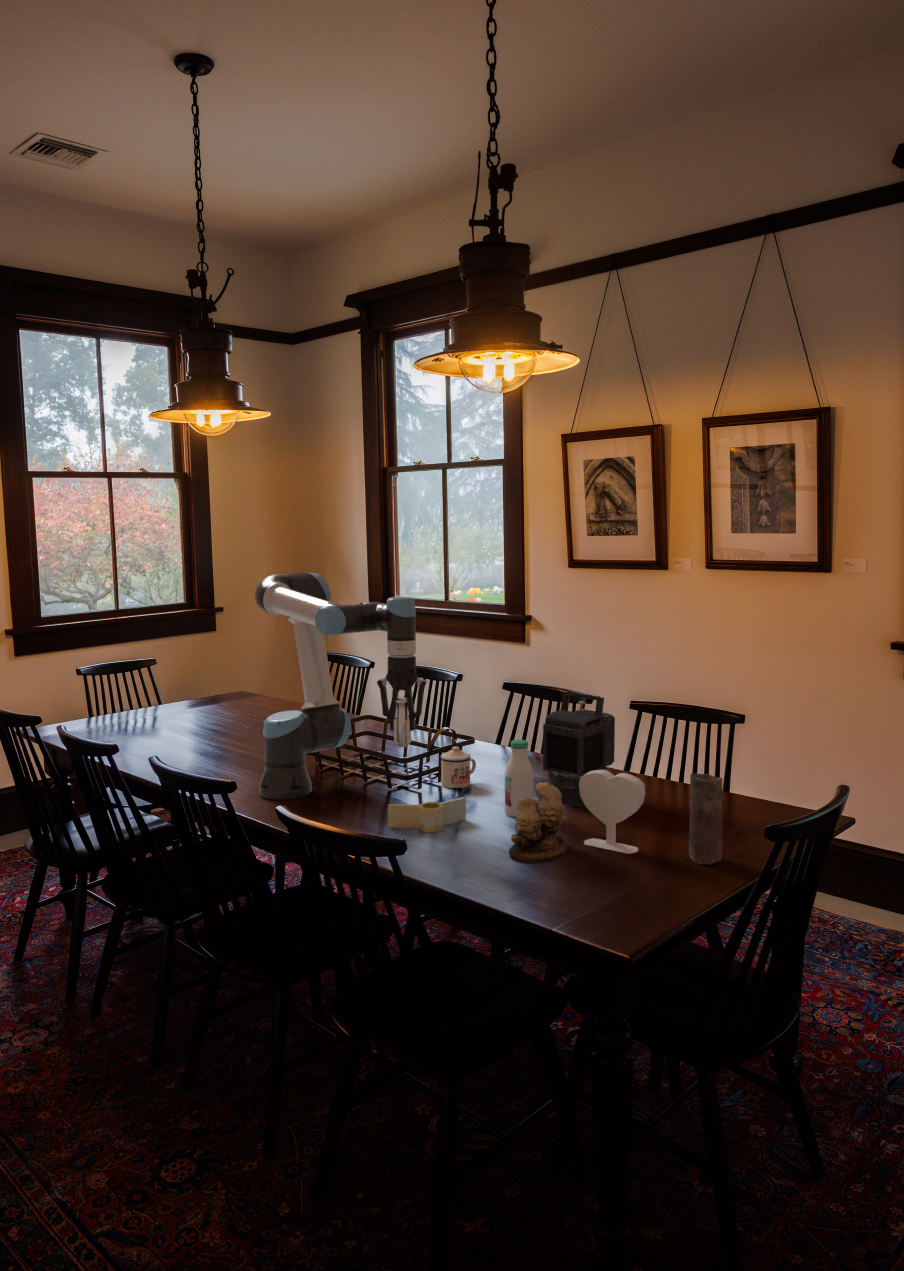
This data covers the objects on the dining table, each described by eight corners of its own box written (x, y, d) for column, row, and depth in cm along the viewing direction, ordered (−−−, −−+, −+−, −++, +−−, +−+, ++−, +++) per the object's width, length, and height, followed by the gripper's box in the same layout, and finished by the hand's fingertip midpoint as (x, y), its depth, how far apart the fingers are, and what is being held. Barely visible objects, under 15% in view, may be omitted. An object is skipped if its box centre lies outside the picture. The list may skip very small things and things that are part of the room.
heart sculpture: (645, 848, 207) (646, 775, 205) (637, 855, 203) (638, 780, 201) (585, 836, 216) (586, 766, 213) (576, 842, 211) (577, 771, 209)
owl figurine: (541, 835, 217) (542, 769, 215) (581, 847, 209) (582, 778, 207) (496, 855, 203) (497, 785, 201) (538, 868, 196) (539, 795, 194)
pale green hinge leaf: (428, 834, 218) (428, 811, 217) (414, 827, 223) (414, 805, 222) (472, 822, 227) (472, 800, 226) (457, 816, 232) (457, 794, 231)
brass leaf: (386, 831, 221) (386, 808, 220) (390, 823, 227) (390, 800, 226) (441, 833, 219) (441, 810, 218) (444, 824, 225) (444, 802, 224)
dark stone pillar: (683, 854, 203) (685, 771, 201) (714, 853, 204) (716, 770, 202) (695, 866, 196) (697, 780, 193) (726, 865, 196) (729, 779, 194)
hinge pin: (394, 747, 230) (393, 700, 229) (396, 743, 234) (396, 697, 233) (408, 747, 230) (408, 700, 228) (411, 744, 234) (410, 697, 232)
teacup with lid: (452, 791, 254) (452, 752, 253) (434, 784, 262) (434, 746, 260) (484, 784, 261) (484, 746, 260) (466, 777, 269) (466, 740, 267)
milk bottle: (536, 810, 236) (536, 739, 234) (529, 819, 229) (529, 745, 226) (509, 808, 239) (509, 737, 236) (501, 816, 231) (501, 743, 229)
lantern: (537, 800, 245) (537, 696, 242) (573, 786, 258) (574, 687, 255) (581, 811, 235) (582, 702, 231) (617, 796, 248) (618, 693, 244)
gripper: (369, 657, 226) (370, 745, 229) (429, 658, 225) (429, 746, 227) (375, 653, 234) (376, 738, 237) (433, 653, 232) (433, 739, 235)
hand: (402, 742), depth 232 cm, fingers closed on hinge pin, 3 cm apart
